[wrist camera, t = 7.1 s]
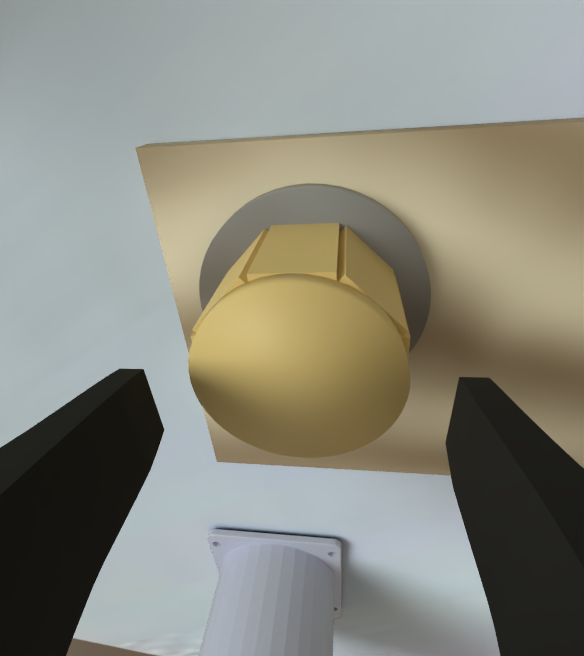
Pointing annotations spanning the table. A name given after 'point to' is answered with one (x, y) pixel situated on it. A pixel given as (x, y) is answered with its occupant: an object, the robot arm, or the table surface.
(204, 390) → the cap
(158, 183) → the stud plate
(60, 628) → the robot arm
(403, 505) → the table surface
